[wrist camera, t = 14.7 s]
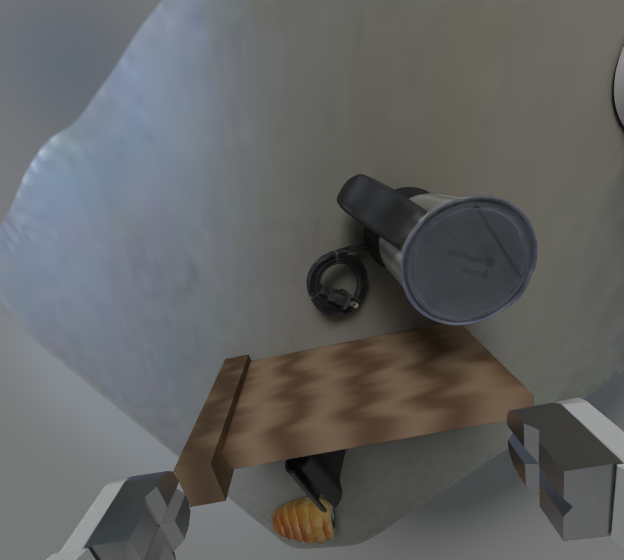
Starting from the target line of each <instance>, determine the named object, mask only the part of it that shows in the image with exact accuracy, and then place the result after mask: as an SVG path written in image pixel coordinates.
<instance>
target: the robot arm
mask: <svg viewBox="0 0 624 560" xmlns="http://www.w3.org/2000/svg"><path fill="white" fill-rule="evenodd" d="M614 99H615V105H616V110H617V113H618V116H619V118H620V120H621V122H622V124H623V126H624V47H623V50H622V52H621V55H620V58H619V61H618V65H617V69H616V74H615V81H614ZM507 425H508V427H509V428H510V429H511V431H512V432H513V434H512V435H511V436H510V438H509V439H508V446H509V453H510V456H511V459H512V462H513V465H514V467H515V469H516V470H517V473H518V474H519V476H520V478H521V479H522V481H523V482H524V484H525V485H526V486H527V487H528V488H530V489H532V490H533V491H535V492H536V493H538V494H540V507H541V509H542V510H543V512H544V513H545V515H546V516H547V518H548V519H549V521H550V522H551V523H552V525H553V526H554V528H555V529H556V531H557V532H558V534H559V535H560V537H561V538H562V540H563V541H567V540H577V539H585V538H595V537H604V536H611V539H612V540H614V541H615V542H616V543H618V544H619V545H621V546H622V547H623V548H624V432H623V431H622V430H621V429H620V428H618V427H617V426H616V425H615V424H614V423H612V422H611V421H610V420H609V419H608V418H606V417H605V416H604V415H603V414H601V413H600V412H599V411H598V410H597V409H595V408H594V407H593V406H592V405H590V404H589V403H588V402H587V401H586V400H583V399H581V398H574V399H569V400H564V401H558V402H555V403H548V404H542V405H537V406H532V407H526V408H521V409H516V410H510V411H508V414H507ZM178 482H179V481H178V479H177V477H176V475H175V473H174V472H172V471H166V472H159V473H152V474H145V475H139V476H132V477H128V478H121V479H114V480H112V481H111V482H109V483H108V484H106V486H105V487H104V489H103V490H102V491H101V493H100V494H99V496H98V497H97V499H96V500H95V502H94V503H93V504H92V506H91V508H90V509H89V510H88V512H87V513H86V515H85V516H84V518H83V519H82V520H81V522H80V524H79V525H78V526H77V528H76V529H75V531H74V532H73V534H72V535H71V537H70V538H69V539H68V541H67V542H66V544H65V545H64V547H63V548H62V550H61V551H60V553H55V554H52V555H51V556H50V557H49V558H48V559H46V560H176V557H175V553H174V550H175V549H176V548H177V547H178V546H179V545H180V544H181V543H182V541H183V540H184V539H185V535H186V533H187V530H188V527H189V520H190V506H189V501H188V499H187V497H186V495H185V494H184V493H182V492H181V491H179V490H177V489H176V488H177V485H178Z"/></svg>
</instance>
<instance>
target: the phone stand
mask: <svg viewBox="0 0 624 560" xmlns="http://www.w3.org/2000/svg"><path fill="white" fill-rule="evenodd" d="M345 450H346V449H343V450H337V451H331V452H326V453H320V454H315V455H309V456H304V457H298V458H292V459H287V460H286V463H285V468H286V470H287V472H288V473H289V474H290V475H291V476H292V478H293V479H294V480H295V481H296V482H297V484H298V485H299V486H300V487H301V488H302V490H303V491H304V492H305V493H306V494H307V495H308V497H309V498H310V499H311V500H312V501H313V503H314V504H315V505H316V506H317V507H318V509H319V510H320V511H322V512H326V510H327V509H326V508H325V507H324V505H323V504H322V503H321V502H320V501H319V498H320V494H321V493H322V494H323V496H324V497H325V498H326V499H327V501H328V502H329V503H330V504H331V505H332V507H333V508H335V507H336V506H337V505H338V504H339V502H340V500H341V496H342V489H341V485H340V474H341V469H342V464H343V459H344V455H345Z"/></svg>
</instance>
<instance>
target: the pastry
mask: <svg viewBox="0 0 624 560" xmlns="http://www.w3.org/2000/svg"><path fill="white" fill-rule="evenodd" d="M319 501H320V502H321V503H322V504H323V505H324V507H325V508H326V509H327V510H326V512H322V511H320V510H319V509H318V507H317V506H316V505H315V504H314V503H313V501H312V500H311V499H310V498H309V497H305V498H301V499H297V500H294V501H292V502H288V503H286V504H283V505H281V506H280V507H279V508H278V509H276V510H275V512H274V514H273V529H274V531H275V532H276V533H278V534H279V535H281V536H283V537H287V538H288V539H296V540H297V541H298V542H302V541H305V542H307V543H308V544H312V543H313V542H314V541H316V542H319V543H324V541H325V540H326V539H327V538H328V539H334V535H335V530H336V528H335V523H334V521H333V520H334V513H333V510H332V509H333V507H332V505H331V504H330V503H329V502H328V501H327V499H325V498H323V497H320V498H319Z"/></svg>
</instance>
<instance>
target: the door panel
mask: <svg viewBox="0 0 624 560" xmlns="http://www.w3.org/2000/svg"><path fill="white" fill-rule="evenodd" d="M532 406H534V395H533V394H532V393H531V392H530V391H529V390H528V389H527V388H526V387H525V386H524V385H523V384H522V383H521V382H520V381H519V380H518V379H517V378H516V377H515V376H514V375H512V374H511V373H510V372H509V371H508V370H507V369H506V368H505V367H504V366H503V365H502V364H501V363H500V362H499V361H498V360H497V359H496V358H495V357H494V356H493V355H492V354H491V353H490V352H489V351H488V350H487V349H486V348H485V347H484V346H482V345H481V344H480V343H479V342H478V341H477V340H476V339H475V338H474V337H473V336H472V335H471V334H470V333H469V332H468V331H467V330H466V329H465V328H464V327H463V326H462V325H448V324H443V323H441V324H436V325H431V326H426V327H421V328H416V329H411V330H406V331H401V332H396V333H391V334H386V335H381V336H376V337H371V338H366V339H361V340H356V341H351V342H346V343H341V344H336V345H331V346H326V347H321V348H316V349H311V350H306V351H301V352H296V353H291V354H286V355H281V356H276V357H271V358H266V359H261V360H256V361H250V358H249V355H244V356H239V357H234V358H229V359H225V361H224V363H223V366H222V368H221V370H220V372H219V374H218V376H217V378H216V381H215V383H214V385H213V387H212V389H211V391H210V393H209V396H208V398H207V400H206V402H205V404H204V406H203V408H202V411H201V413H200V415H199V417H198V419H197V421H196V424H195V426H194V428H193V430H192V432H191V434H190V436H189V439H188V441H187V443H186V445H185V447H184V449H183V451H182V454H181V456H180V458H179V460H178V462H177V464H176V467H175V469H174V472H175V474H176V476H177V478H178V481H179V483H180V485H181V487H182V489H183V491H184V494H185V495H186V497H187V499H188V501H189V504H190V507H192V506H197V505H204V504H210V503H215V502H221V501H225V500H226V498H227V494H228V490H229V486H230V482H231V479H232V475H233V471H234V469H237V468H242V467H248V466H253V465H259V464H265V463H270V462H276V461H281V460H287V459H292V458H298V457H304V456H309V455H315V454H320V453H326V452H331V451H337V450H343V449H348V448H354V447H359V446H365V445H370V444H376V443H382V442H387V441H393V440H398V439H404V438H409V437H415V436H421V435H426V434H432V433H437V432H443V431H449V430H454V429H460V428H465V427H471V426H476V425H482V424H488V423H493V422H499V421H504V420H507V414H508V411H510V410H516V409H521V408H526V407H532Z"/></svg>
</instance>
